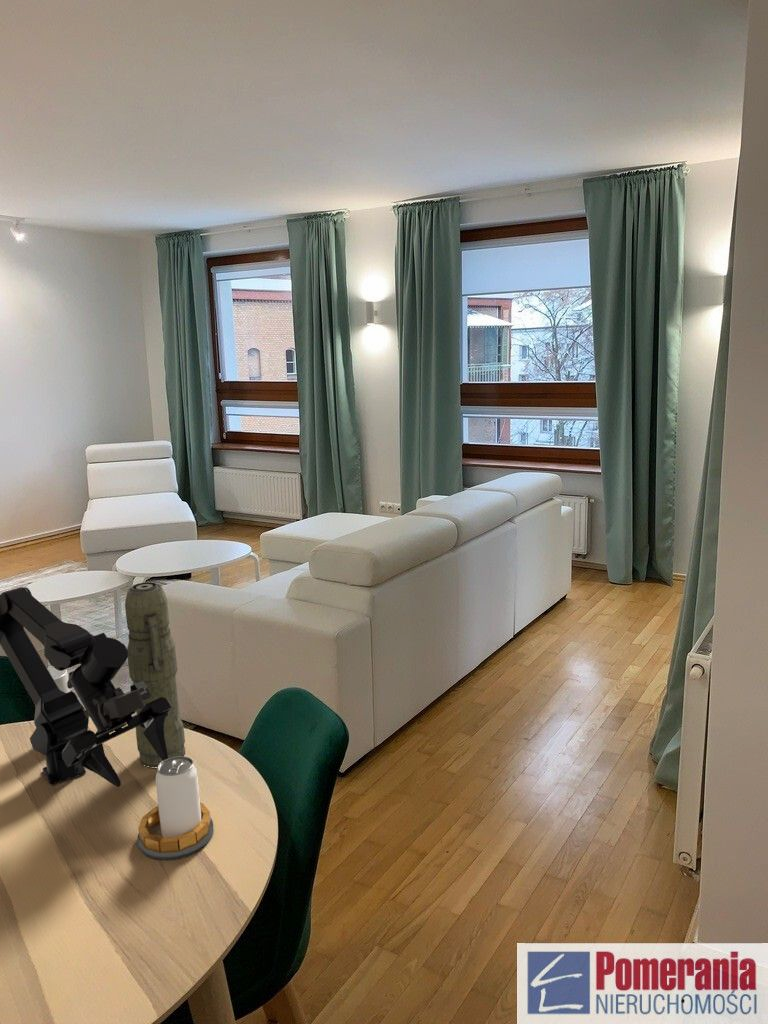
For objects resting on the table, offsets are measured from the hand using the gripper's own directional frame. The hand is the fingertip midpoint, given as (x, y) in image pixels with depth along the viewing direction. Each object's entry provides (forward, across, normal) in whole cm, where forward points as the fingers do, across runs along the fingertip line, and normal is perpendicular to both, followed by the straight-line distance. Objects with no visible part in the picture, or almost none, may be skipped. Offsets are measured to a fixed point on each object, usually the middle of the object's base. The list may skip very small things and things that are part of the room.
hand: (143, 773), depth 130 cm
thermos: (-4, +14, +17) cm, 23 cm away
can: (+12, 0, 0) cm, 12 cm away
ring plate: (+12, 0, +1) cm, 12 cm away
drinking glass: (-20, +6, +34) cm, 40 cm away
